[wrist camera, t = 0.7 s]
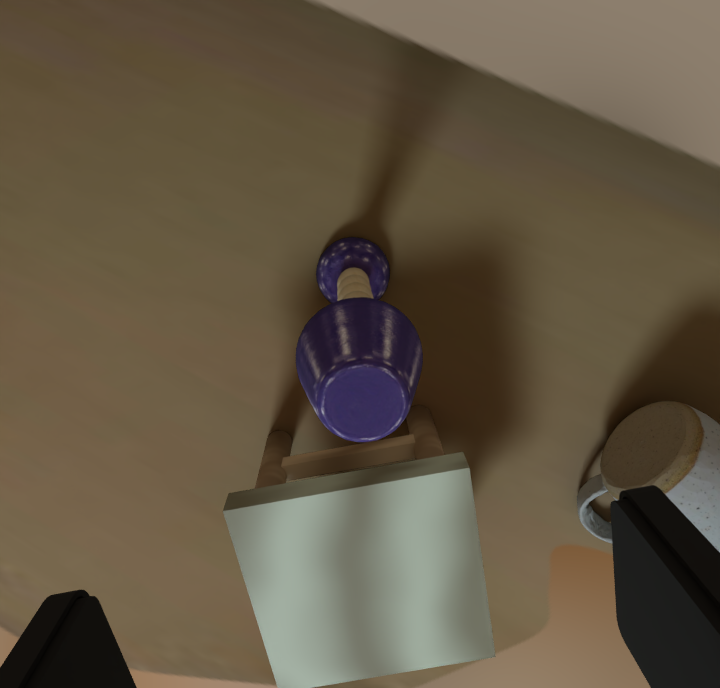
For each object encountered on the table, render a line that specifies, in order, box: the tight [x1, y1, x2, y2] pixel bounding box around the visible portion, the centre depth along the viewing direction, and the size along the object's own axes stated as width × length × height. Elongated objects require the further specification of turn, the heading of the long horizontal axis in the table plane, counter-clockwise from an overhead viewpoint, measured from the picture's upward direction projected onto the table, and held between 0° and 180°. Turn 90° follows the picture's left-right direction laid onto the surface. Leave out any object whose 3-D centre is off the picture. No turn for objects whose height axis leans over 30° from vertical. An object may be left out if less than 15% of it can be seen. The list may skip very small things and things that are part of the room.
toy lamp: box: [296, 237, 423, 442], centre depth 25 cm, size 5×5×17 cm
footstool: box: [223, 405, 495, 688], centre depth 33 cm, size 12×12×9 cm
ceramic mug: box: [577, 401, 720, 552], centre depth 34 cm, size 11×8×8 cm
